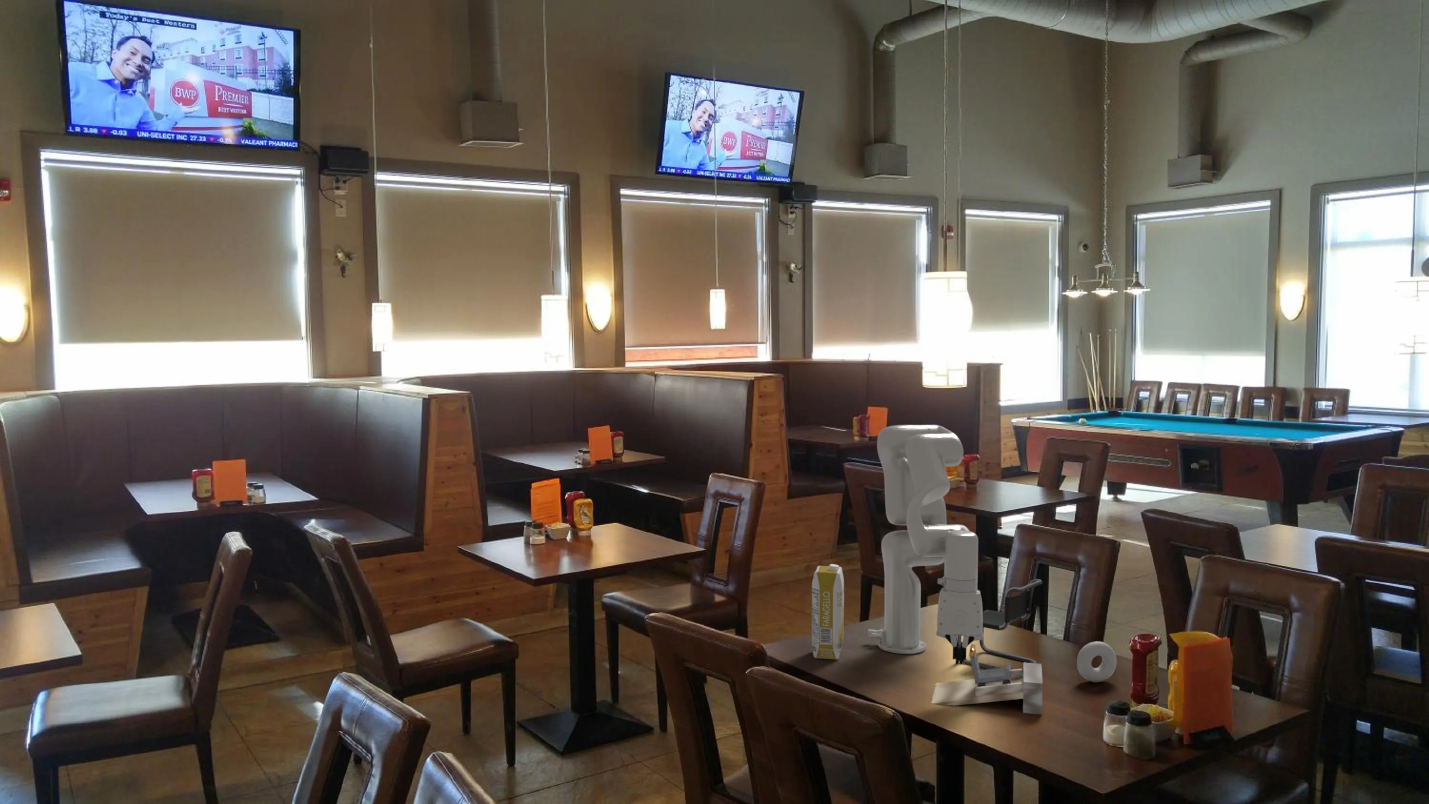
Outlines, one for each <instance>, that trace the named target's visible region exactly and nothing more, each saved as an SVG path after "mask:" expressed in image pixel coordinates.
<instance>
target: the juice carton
mask: <svg viewBox="0 0 1429 804" xmlns="http://www.w3.org/2000/svg"><path fill="white" fill-rule="evenodd" d="M844 603H845V581H844V573H843V568H842V566H839V565H838V564H834V563H831V564H829V565H818V566H817V567H816V570H815V571H814V573H813V578H812V584H811V648H812V655H813V658H814V659H820V660H821V659H824V660H839V659H840V655H841V651H842V647H843V644H844V633H845V632H844V631H845V630H844V620H845V617H844V615H845V614H844V613H845V604H844Z"/></svg>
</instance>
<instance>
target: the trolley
mask: <svg viewBox="0 0 1429 804" xmlns="http://www.w3.org/2000/svg"><path fill="white" fill-rule="evenodd" d="M976 648H977V646H976V644H975V643H970V647H969V652H968V657H969V659H970V660H971V664H972V665H971V669H972V673H973V677H974V678H973V679H975V683H978V686H977V687H982V686H986V685H985V682H993V681H1002V680H1003V683H1002V684H1011V682H1010V680H1011V670H1012V666H1011V662H1010V660H1007V661H1006V667H1005V666H1004V667H1000V668H996V669H980V668H981V667H979V663H980V662H979V658H978V654H977V649H976ZM978 662H979V663H978Z"/></svg>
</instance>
